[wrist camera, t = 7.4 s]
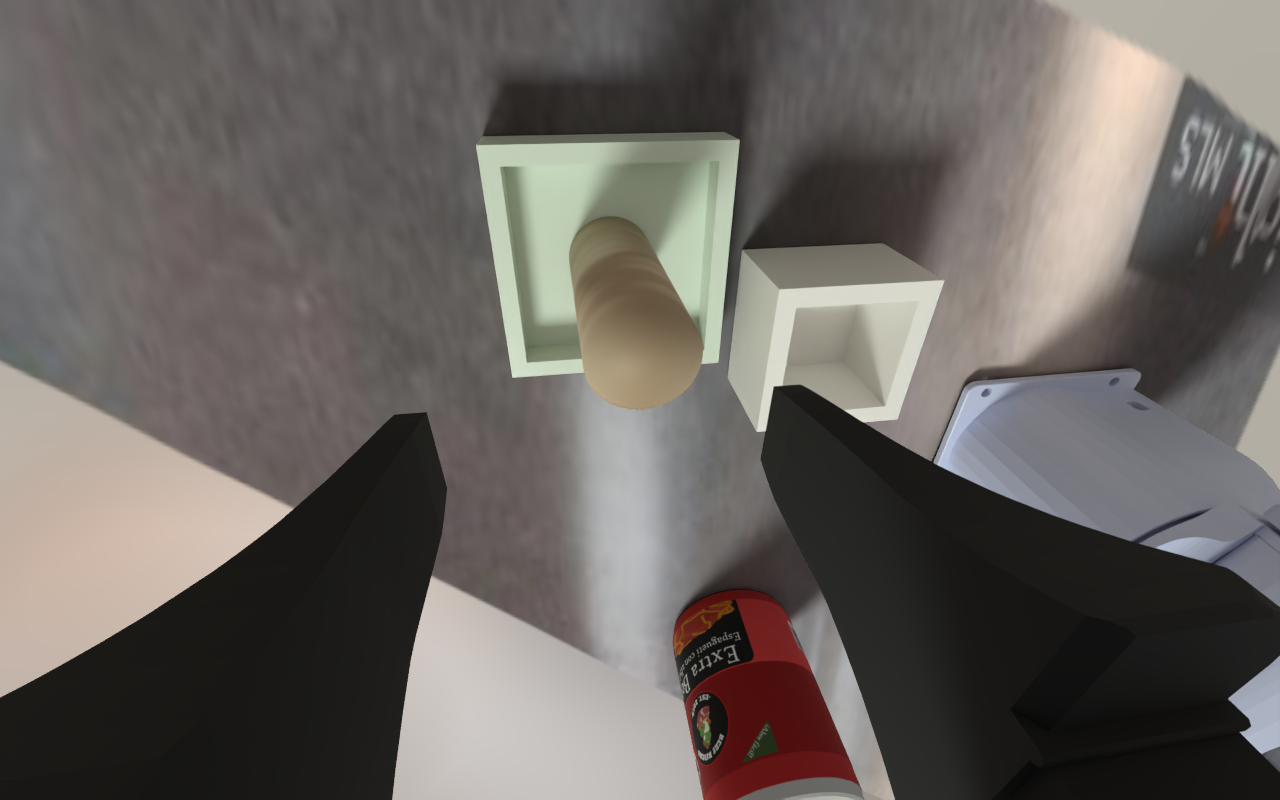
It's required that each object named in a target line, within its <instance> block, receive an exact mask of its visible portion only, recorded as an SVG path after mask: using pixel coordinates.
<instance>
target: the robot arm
mask: <svg viewBox="0 0 1280 800" xmlns="http://www.w3.org/2000/svg"><path fill="white" fill-rule="evenodd" d="M1140 378H1141V373H1140V372H1139V371H1137V370H1135V369H1132V368H1129V369H1117V370H1105V371H1092V372H1080V373H1068V374H1056V375H1043V376H1031V377H1019V378H1007V379H994V380H982V381H974V382H971V383H969V384H968V385H967V386H965V388H964V389H963V392H962V394H961V397H960V399H959V401H958V404H957V406H956V409H955V411H954V414H953V416H952V418H951V421H950V423H949V426H948V428H947V431H946V433H945V435H944V438H943V440H942V443H941V445H940V448H939V450H938V452H937V455H936V457H935V460H934V462H931V461H929V460H927V459H925V458H923V457H922V456H920V455H918V454H916V453H914V452H913V451H911V450H909V449H907V448H905V447H903V446H902V445H900V444H898V443H897V442H895V441H893V440H891V439H890V438H888V437H886V436H885V435H883V434H881V433H880V432H878V431H876V430H875V429H873V428H871V427H870V426H868V425H867V424H865V423H863V422H862V421H860V420H859V419H857V418H855V417H854V416H852V415H851V414H849V413H847V412H846V411H844V410H843V409H841V408H840V407H838V406H836V405H835V404H833V403H832V402H830V401H828V400H827V399H825V398H824V397H822V396H820V395H819V394H817V393H815V392H814V391H812V390H810V389H808V388H807V387H805V386H803V385H801V384H799V385H786V386H774V387H773V393H772V398H771V404H770V410H769V415H768V421H767V426H766V432H765V438H764V443H763V449H762V454H761V462H762V465H763V468H764V471H765V474H766V477H767V480H768V483H769V486H770V488H771V491H772V494H773V497H774V499H775V501H776V503H777V505H778V507H779V509H780V511H781V513H782V515H783V517H784V519H785V521H786V523H787V525H788V527H789V529H790V531H791V533H792V535H793V537H794V539H795V541H796V543H797V544H798V546H799V548H800V550H801V552H802V554H803V556H804V558H805V560H806V562H807V564H808V566H809V568H810V569H811V571H812V573H813V575H814V577H815V579H816V581H817V583H818V585H819V587H820V589H821V591H822V594H823V596H824V598H825V600H826V602H827V604H828V607H829V609H830V612H831V614H832V617H833V619H834V622H835V624H836V627H837V630H838V632H839V635H840V637H841V640H842V642H843V645H844V647H845V650H846V653H847V656H848V658H849V661H850V664H851V667H852V669H853V672H854V675H855V678H856V680H857V683H858V686H859V689H860V691H861V694H862V697H863V700H864V703H865V706H866V709H867V712H868V715H869V718H870V721H871V724H872V727H873V730H874V733H875V736H876V739H877V742H878V745H879V748H880V751H881V754H882V757H883V761H884V764H885V767H886V771H887V774H888V777H889V781H890V784H891V787H892V790H893V794H894V797H895V800H1280V490H1279V488H1278V487H1277V485H1276V484H1275V482H1274V481H1273V480H1272V478H1271V477H1270V476H1269V475H1268V474H1267V473H1266V472H1265V471H1264V470H1263V469H1262V468H1261V467H1260V466H1259V465H1258V464H1256V463H1255V462H1254V461H1253V460H1251V459H1250V458H1248V457H1247V456H1245V455H1243V454H1242V453H1240V452H1238V451H1237V450H1235V449H1233V448H1232V447H1230V446H1228V445H1227V444H1225V443H1223V442H1221V441H1220V440H1218V439H1216V438H1215V437H1213V436H1211V435H1210V434H1208V433H1206V432H1205V431H1203V430H1201V429H1199V428H1198V427H1196V426H1194V425H1193V424H1191V423H1189V422H1188V421H1186V420H1184V419H1183V418H1181V417H1179V416H1178V415H1176V414H1174V413H1172V412H1171V411H1169V410H1167V409H1166V408H1164V407H1162V406H1161V405H1159V404H1157V403H1156V402H1154V401H1152V400H1150V399H1149V398H1147V397H1145V396H1144V395H1142V394H1140V393H1139V392H1137V391H1135V390H1134V388H1135V387H1136V385H1137V383H1138V382H1139V380H1140ZM446 493H447V487H446V483H445V479H444V475H443V472H442V468H441V464H440V461H439V457H438V453H437V449H436V446H435V442H434V438H433V434H432V431H431V427H430V423H429V420H428V416H427V412H424V413H411V414H398V415H394V416H393V417H392V418H390V419H389V420H388V421H387V422H386V423H385V424H384V425H383V426H382V427H381V428H380V429H379V430H378V431H377V432H376V433H375V434H374V435H373V436H372V437H371V438H370V439H369V440H368V441H367V442H366V443H365V444H364V445H363V446H362V447H361V448H360V449H359V450H358V451H357V452H356V453H355V454H354V455H353V456H351V457H350V458H349V459H348V460H347V461H346V462H345V463H344V464H343V465H342V466H341V467H340V468H339V469H338V470H337V471H336V472H335V473H334V474H333V475H332V476H331V477H330V478H328V479H327V480H326V481H325V482H324V483H323V484H322V485H321V486H320V487H318V488H317V489H316V490H315V491H314V492H313V493H312V494H310V495H309V496H308V497H307V498H306V499H305V500H304V501H302V502H301V503H300V504H299V505H298V506H297V507H296V508H294V509H293V510H292V511H291V512H290V513H289V514H288V515H286V516H285V517H284V518H283V519H282V520H281V521H279V522H278V523H277V524H276V525H274V526H273V527H272V528H271V529H270V530H268V531H267V532H266V533H264V534H263V535H262V536H261V537H259V538H258V539H257V540H255V541H254V542H253V543H251V544H250V545H249V546H247V547H246V548H245V549H243V550H242V551H241V552H239V553H238V554H237V555H235V556H234V557H233V558H231V559H230V560H228V561H227V562H226V563H224V564H223V565H222V566H220V567H219V568H217V569H216V570H215V571H213V572H212V573H210V574H209V575H207V576H205V577H204V578H202V579H201V580H199V581H198V582H197V583H195V584H193V585H192V586H190V587H189V588H187V589H186V590H184V591H183V592H181V593H180V594H178V595H177V596H175V597H174V598H172V599H171V600H169V601H168V602H166V603H164V604H163V605H161V606H160V607H158V608H157V609H155V610H154V611H152V612H151V613H149V614H148V615H146V616H144V617H143V618H141V619H139V620H138V621H136V622H135V623H133V624H131V625H129V626H128V627H126V628H125V629H123V630H121V631H119V632H118V633H116V634H114V635H113V636H111V637H109V638H108V639H106V640H105V641H103V642H101V643H100V644H98V645H96V646H94V647H92V648H91V649H89V650H87V651H85V652H84V653H82V654H80V655H78V656H76V657H75V658H73V659H71V660H69V661H68V662H66V663H64V664H62V665H61V666H59V667H57V668H55V669H53V670H52V671H50V672H48V673H46V674H44V675H42V676H41V677H39V678H37V679H35V680H34V681H31V682H30V683H28V684H26V685H24V686H22V687H20V688H18V689H16V690H14V691H12V692H10V693H8V694H6V695H5V696H3V697H1V698H0V800H392V796H393V786H394V777H395V768H396V760H397V753H398V745H399V738H400V730H401V722H402V715H403V707H404V701H405V694H406V687H407V681H408V674H409V667H410V660H411V656H412V651H413V646H414V642H415V637H416V633H417V629H418V625H419V621H420V617H421V613H422V610H423V605H424V602H425V598H426V594H427V590H428V586H429V582H430V579H431V575H432V571H433V567H434V563H435V559H436V555H437V551H438V547H439V543H440V539H441V535H442V528H443V520H444V512H445V503H446Z"/></svg>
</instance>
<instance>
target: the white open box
mask: <svg viewBox="0 0 1280 800" xmlns="http://www.w3.org/2000/svg"><path fill="white" fill-rule="evenodd" d="M943 283H944V280H943V279H942V278H940V277H938V276H937V275H935V274H933V273H932V272H930V271H928V270H927V269H925V268H923V267H922V266H920V265H918V264H917V263H915V262H913V261H912V260H910V259H908V258H907V257H905V256H903V255H902V254H900V253H898V252H897V251H895V250H893V249H892V248H890V247H888V246H887V245H885V244H883V243H876V244H854V245H832V246H811V247H789V248H768V249H746V250H742V255H741V264H740V273H739V282H738V291H737V300H736V308H735V317H734V326H733V335H732V344H731V353H730V362H729V371H728V379H729V381H730V383H731V385H732V387H733V388H734V390H735V392H736V394H737V396H738V398H739V400H740V402H741V403H742V405H743V407H744V409H745V411H746V413H747V415H748V416H749V418H750V420H751V422H752V424H753V426H754V428H755V429H756V431H757V432H761V431H766V426H767V421H768V415H769V410H770V404H771V398H772V393H773V387H774V386H786V385H799V384H801V385H803V386H805V387H807V388H808V389H810V390H812V391H814V392H815V393H817V394H819V395H820V396H822V397H824V398H825V399H827V400H828V401H830V402H832V403H833V404H835V405H836V406H838V407H840V408H841V409H843V410H844V411H846V412H847V413H849V414H851V415H852V416H854V417H855V418H857V419H859V420H860V421H862V422H873V421H885V420H896V419H897V418H898V415H899V412H900V410H901V407H902V404H903V401H904V398H905V395H906V392H907V389H908V386H909V383H910V380H911V377H912V374H913V371H914V368H915V365H916V363H917V360H918V357H919V354H920V351H921V348H922V345H923V342H924V339H925V336H926V333H927V330H928V327H929V324H930V321H931V318H932V316H933V313H934V310H935V307H936V304H937V301H938V298H939V295H940V292H941V289H942V286H943Z"/></svg>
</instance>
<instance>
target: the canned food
mask: <svg viewBox="0 0 1280 800" xmlns="http://www.w3.org/2000/svg"><path fill="white" fill-rule="evenodd" d="M673 650H674V655H675V660H676V665H677V670H678V675H679V680H680V685H681V690H682V695H683V700H684V705H685V709H686V714H687V719H688V724H689V729H690V734H691V739H692V744H693V749H694V754H695V759H696V764H697V769H698V773H699V779H700V784H701V789H702V794H703V799H704V800H864V798H863V794H862V789H861V787H860V785H859V782H858V780H857V777H856V775H855V773H854V770H853V767H852V764H851V762H850V760H849V757H848V755H847V753H846V750H845V748H844V746H843V743H842V741H841V739H840V736H839V734H838V731H837V729H836V727H835V724H834V722H833V720H832V717H831V715H830V713H829V710H828V708H827V706H826V703H825V701H824V699H823V696H822V694H821V691H820V689H819V687H818V684H817V682H816V680H815V677H814V675H813V673H812V670H811V668H810V666H809V663H808V661H807V659H806V656H805V654H804V651H803V649H802V647H801V644H800V642H799V640H798V637H797V635H796V633H795V630H794V628H793V626H792V623H791V621H790V619H789V617H788V615H787V613H786V612H785V610H784V609H783V608H782V607H781V606H780V604H779V603H778V602H777V601H776V600H775V599H774V598H772V597H771V596H769V595H767V594H765V593H761V592H757V591H752V590H731V591H724V592H720V593H717V594H713V595H710V596H708V597H706V598H703V599H701V600H700V601H698V602H696V603H694V604H693V605H692V606H690V607H689V608H688V609H687V610H685V611H684V613H683V614H682V615H681V616H680V617H679V619H678V620H677V622H676V624H675V628H674V634H673Z"/></svg>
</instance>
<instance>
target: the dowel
mask: <svg viewBox="0 0 1280 800" xmlns="http://www.w3.org/2000/svg"><path fill="white" fill-rule="evenodd" d="M569 265H570V272H571V280H572V287H573V295H574V302H575V310H576V317H577V325H578V332H579V340H580V348H581V355H582V363H583V369H584V374H585V377H586V379H587V381H588V383H589V385H590V386H591V388H592V389H593V390H594V392H595V393H596V394H597V395H598V396H600V397H601V398H602V399H603V400H605V401H607V402H608V403H610V404H613V405H615V406H618V407H621V408H626V409H636V410H638V409H649V408H654V407H657V406H660V405H663V404H666V403H668V402H670V401H672V400H673V399H675V398H676V397H678V396H679V395H680V394H682V393H683V392H684V391H685V390H686V389H687V388H688V387H689V386H690V385H691V383H692V382H693V381H694V379H695V377H696V376H697V374H698V372H699V369H700V366H701V363H702V357H703V345H702V340H701V337H700V334H699V332H698V330H697V328H696V326H695V324H694V322H693V320H692V319H691V317H690V315H689V313H688V311H687V310H686V308H685V306H684V304H683V302H682V301H681V299H680V297H679V295H678V293H677V291H676V290H675V288H674V286H673V284H672V282H671V281H670V279H669V277H668V275H667V273H666V272H665V270H664V268H663V266H662V264H661V263H660V261H659V259H658V257H657V255H656V254H655V252H654V250H653V248H652V246H651V245H650V243H649V241H648V239H647V237H646V236H645V234H644V233H643V231H642V230H641V229H640V228H639V227H638V226H637V225H635V224H634V223H632V222H631V221H629V220H627V219H624V218H620V217H614V216H608V217H601V218H598V219H595V220H593V221H591V222H589V223H587V224H586V225H585V226H584V227H582V228H581V229H580V230H579V232H578V233H577V234H576V236H575V237H574V239H573V241H572V244H571V247H570V251H569Z"/></svg>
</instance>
